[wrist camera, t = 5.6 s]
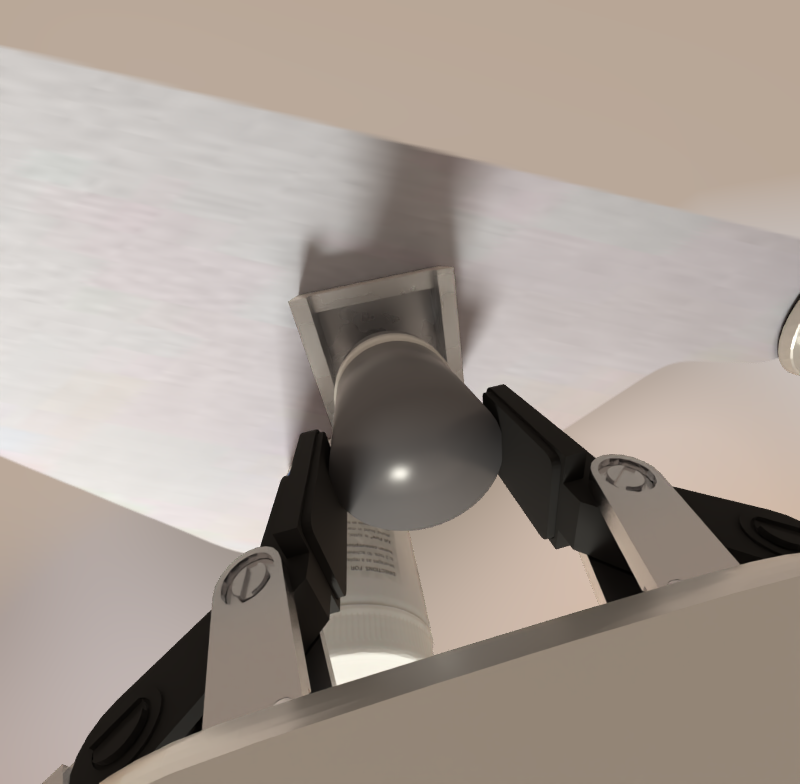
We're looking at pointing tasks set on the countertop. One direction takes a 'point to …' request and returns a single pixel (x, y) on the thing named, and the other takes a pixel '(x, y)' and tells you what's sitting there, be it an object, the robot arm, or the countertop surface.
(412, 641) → the supplement tub
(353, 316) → the open square box
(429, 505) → the grey rounded-end cylinder
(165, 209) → the countertop surface
